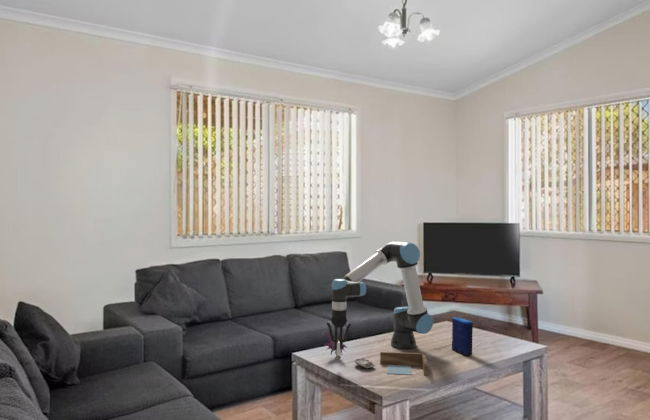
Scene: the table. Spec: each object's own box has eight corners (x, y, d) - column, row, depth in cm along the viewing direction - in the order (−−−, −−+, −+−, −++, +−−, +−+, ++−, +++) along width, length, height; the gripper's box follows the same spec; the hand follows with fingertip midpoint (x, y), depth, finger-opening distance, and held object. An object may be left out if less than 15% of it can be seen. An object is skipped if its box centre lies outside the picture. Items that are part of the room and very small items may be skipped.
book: (450, 350, 285) (450, 316, 285) (457, 349, 287) (457, 315, 287) (466, 357, 271) (465, 321, 272) (473, 356, 273) (473, 320, 274)
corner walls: (380, 362, 261) (380, 351, 261) (425, 364, 257) (425, 353, 257) (379, 373, 243) (379, 361, 243) (427, 375, 240) (427, 363, 240)
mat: (387, 365, 256) (387, 364, 256) (410, 366, 255) (410, 365, 255) (387, 373, 242) (387, 373, 242) (411, 375, 241) (411, 374, 241)
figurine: (350, 357, 271) (350, 330, 271) (347, 361, 263) (347, 333, 263) (327, 355, 275) (327, 328, 275) (323, 359, 267) (323, 332, 267)
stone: (351, 364, 257) (351, 357, 257) (365, 362, 261) (365, 356, 261) (363, 370, 246) (363, 363, 246) (378, 368, 251) (378, 361, 251)
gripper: (325, 310, 249) (325, 356, 249) (351, 311, 247) (350, 357, 247) (327, 307, 257) (327, 352, 256) (352, 308, 255) (351, 353, 254)
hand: (338, 354), depth 252 cm, fingers closed
